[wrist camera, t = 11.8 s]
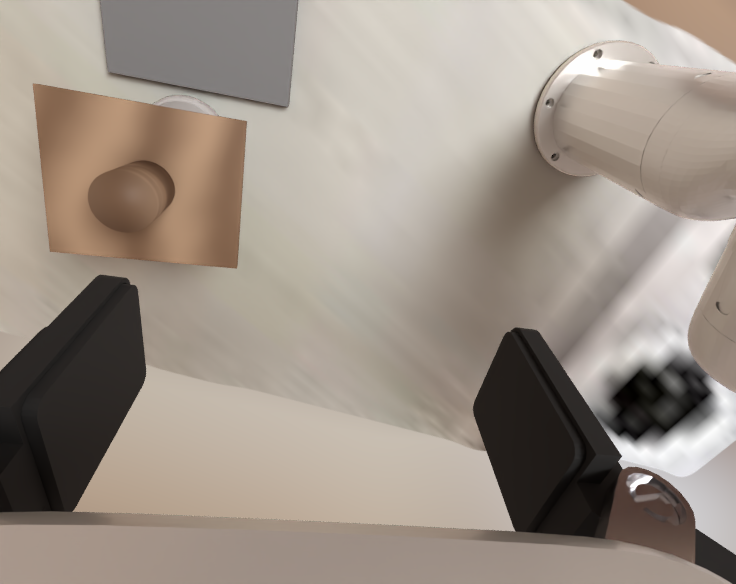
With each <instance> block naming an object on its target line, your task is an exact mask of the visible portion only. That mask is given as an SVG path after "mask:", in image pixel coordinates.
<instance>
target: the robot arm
mask: <svg viewBox="0 0 736 584" xmlns="http://www.w3.org/2000/svg"><path fill="white" fill-rule="evenodd" d="M594 52H595V55H594V56H593V54H594ZM547 100H548V103H547V104H546V101H547ZM545 104H546V105H545ZM534 134H535V141H536V144H537V147H538V150H539V152H540V153H541V155H542V156H543V158H544V159H545V160H546V161H547V162H548V163H549V164H550V165H551V166H552V167H554V168H556V169H557V170H558V171H561V172H563V173H565V174H568V175H573V176H591V175H596V174H600V175H601V176H603V177H605V178H607V179H609V180H611V181H612V182H614V183H616V184H618V185H620V186H622V187H623V188H625V189H627V190H629V191H631V192H633V193H634V194H636V195H638V196H640V197H642V198H643V199H645V200H647V201H649V202H651V203H653V204H654V205H656V206H658V207H660V208H662V209H664V210H666V211H668V212H670V213H672V214H674V215H677V216H679V217H682V218H686V219H691V220H698V221H719V220H727V219H734V218H736V72H726V71H717V70H707V69H698V68H688V67H678V66H669V65H659V63H658V61H657V60H656V58H655V57H654V56H653V54H652V53H651V52H649V51H648V50H647V49H645V48H644V47H643V46H641V45H638V44H635V43H633V42H627V41H605V42H601V43H596V44H594V45H591V46H589V47H587V48H584V49H582V50H581V51H579V52H578V53H576V54H575V55H573V56H572V57H570V58H569V59H568V60H567V61H566V62H565V63H564V64H562V65H561V66H560V67H559V68H558V70H557V71H556V72H555V73H554V75H553V76H552V77H551V78H550V80H549V81H548V83H547V85H546V86H545V88H544V90H543V92H542V94H541V97H540V99H539V101H538V104H537V108H536V113H535V118H534ZM553 154H554V155H553ZM552 155H553V157H551V156H552ZM688 346H689V349H690V351H691V354H692V356H693V358H694V359H695V360H696V362H697V363H698V365H699V366H700V367H701V368H702V369H703V370H704V371H705V372H706V373H707V374H708V375H710V376H711V377H712V378H713V379H715V380H716V381H717V382H719V383H720V384H722V385H723V386H725V387H726V388H728V389H729V390H731V391H733V392H735V393H736V225H735V227H734V229H733V231H732V233H731V235H730V237H729V239H728V244H727V246H726V248H725V250H724V252H723V254H722V256H721V258H720V260H719V262H718V264H717V266H716V268H715V270H714V272H713V274H712V276H711V278H710V280H709V282H708V284H707V286H706V288H705V290H704V292H703V294H702V296H701V299H700V301H699V303H698V305H697V308H696V310H695V312H694V314H693V317H692V319H691V322H690V325H689V330H688ZM145 377H146V364H145V355H144V345H143V336H142V326H141V316H140V307H139V297H138V289H137V287H136V286H135V285H130V282H129V280H128V279H127V278H122V277H114V276H107V275H99V276H97V277H96V278H95V279H94V280H93V281H92V282H91V283H90V284H89V285H88V286H87V287H86V288H85V289H84V290H83V291H82V292H81V293H80V294H79V295H78V296H77V297H76V298H75V299H74V300H73V301H72V302H71V303H70V304H69V305H68V306H67V307H66V308H65V309H64V310H63V311H62V312H61V314H60V315H59V316H58V317H57V318H56V319H55V320H54V321H53V322H52V323H51V324H50V325H49V326H48V327H45V328H44V329H42V330H41V331H40V332H39V333H38V334H37V335H36V336H35V337H34V338H33V339H32V340H31V341H30V342H29V343H28V344H27V345H26V346H25V347H24V348H23V349H22V350H21V351H20V352H19V353H18V354H17V355H16V356H15V357H14V358H13V359H12V360H11V361H10V362H9V363H8V364H7V365H6V366H5V367H4V368H3V369H2V370H1V371H0V584H736V555H735V554H733V553H732V552H730V551H729V550H727V549H726V548H724V547H723V546H721V545H720V544H718V543H717V542H715V541H714V540H712V539H711V538H709V537H708V536H706V535H705V534H703V533H702V532H700V531H699V530H697V529H695V517H694V512H693V510H692V509H691V507H690V505H689V503H688V502H687V501H686V499H685V498H684V497H683V495H682V494H681V493H680V492H679V491H678V490H677V489H676V488H675V487H673V486H672V485H671V484H670V483H669V482H668V481H666V480H665V479H663V478H662V477H660V476H659V475H657V474H655V473H653V472H651V471H649V470H646V469H642V468H639V467H627V468H626V469H622V467H621V466H620V464H619V463H618V461H619V459H620V458H621V457H622V456H621V454H620V453H619V451H618V450H617V448H616V447H615V445H614V444H613V442H612V441H611V439H610V438H609V436H608V435H607V433H606V432H605V430H604V429H603V427H602V426H601V424H600V423H599V421H598V420H597V418H596V417H595V415H594V414H593V412H592V411H591V409H590V408H589V406H588V405H587V403H586V402H585V400H584V399H583V397H582V396H581V394H580V393H579V391H578V390H577V388H576V387H575V385H574V384H573V382H572V381H571V379H570V378H569V376H568V375H567V373H566V372H565V370H564V369H563V367H562V366H561V364H560V363H559V361H558V360H557V358H556V357H555V355H554V354H553V352H552V351H551V350H550V348H549V347H548V345H547V344H546V342H545V341H544V339H543V338H542V336H541V335H540V333H539V332H538V331H537V330H532V329H524V328H517V327H516V328H514V329H512V330H511V332H507V333H506V334H505V335H504V337H503V339H502V341H501V344H500V346H499V348H498V350H497V353H496V355H495V357H494V359H493V361H492V364H491V366H490V368H489V370H488V373H487V375H486V377H485V379H484V381H483V384H482V386H481V388H480V390H479V393H478V395H477V397H476V399H475V402H474V406H473V413H474V417H475V420H476V423H477V425H478V428H479V431H480V434H481V437H482V439H483V442H484V445H485V448H486V451H487V454H488V456H489V459H490V462H491V465H492V467H493V470H494V473H495V476H496V479H497V482H498V485H499V487H500V490H501V493H502V496H503V498H504V502H505V504H506V507H507V510H508V513H509V516H510V518H511V521H512V524H513V527H514V529H515V531H516V532H513V531H495V530H494V531H493V530H476V529H456V528H439V527H420V526H401V525H400V526H399V525H381V524H360V523H359V524H358V523H339V522H317V521H297V520H276V519H253V518H229V517H206V516H183V515H158V514H131V513H94V512H92V513H90V512H72V511H73V510H74V509H75V507H76V506H77V504H78V502H79V500H80V498H81V497H82V494H83V493H84V491H85V489H86V487H87V486H88V484H89V482H90V480H91V478H92V476H93V475H94V473H95V471H96V469H97V468H98V466H99V464H100V462H101V460H102V458H103V457H104V455H105V453H106V451H107V449H108V448H109V446H110V444H111V442H112V440H113V438H114V437H115V435H116V433H117V431H118V429H119V428H120V426H121V424H122V422H123V420H124V418H125V417H126V415H127V413H128V411H129V409H130V408H131V406H132V404H133V402H134V400H135V398H136V397H137V395H138V393H139V391H140V389H141V388H142V386H143V383H144V381H145Z"/></svg>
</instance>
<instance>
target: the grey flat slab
mask: <svg viewBox="0 0 736 584" xmlns="http://www.w3.org/2000/svg"><path fill="white" fill-rule="evenodd" d="M100 5H101V14H102V23H103V32H104V41H105V50H106V59H107V68H108V72H111V73H116V74H121V75H126V76H132V77H137V78H142V79H147V80H152V81H157V82H162V83H167V84H173V85H178V86H183V87H188V88H193V89H198V90H203V91H209V92H214V93H219V94H224V95H229V96H234V97H239V98H244V99H250V100H255V101H260V102H265V103H270V104H275V105H280V106H285V107H288V106H289V100H290V88H291V77H292V66H293V54H294V43H295V32H296V21H297V9H298V0H100Z"/></svg>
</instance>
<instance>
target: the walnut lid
mask: <svg viewBox="0 0 736 584" xmlns="http://www.w3.org/2000/svg"><path fill="white" fill-rule="evenodd" d="M33 90H34V100H35V109H36V119H37V129H38V139H39V149H40V158H41V168H42V178H43V188H44V197H45V207H46V217H47V227H48V237H49V246H50V252H61V253H72V254H83V255H94V256H105V257H116V258H127V259H138V260H149V261H160V262H171V263H182V264H193V265H204V266H216V267H227V268H237V264H238V249H239V234H240V218H241V203H242V188H243V172H244V157H245V142H246V126H247V121H242V120H237V119H231V118H226V117H220V116H214V115H209V114H203V113H198V112H192V111H186V110H181V109H175V108H170V107H164V106H158V105H153V104H147V103H141V102H136V101H130V100H125V99H119V98H113V97H108V96H102V95H97V94H91V93H85V92H80V91H74V90H68V89H63V88H57V87H52V86H46V85H40V84H33Z"/></svg>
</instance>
